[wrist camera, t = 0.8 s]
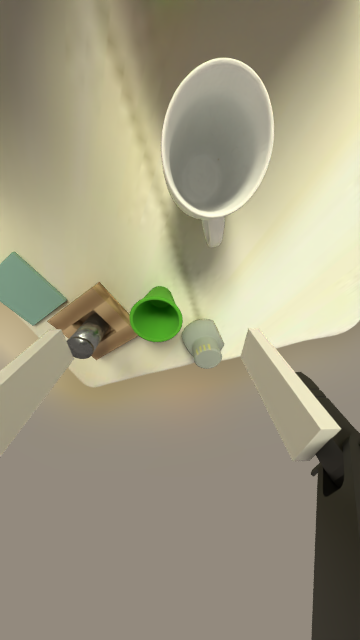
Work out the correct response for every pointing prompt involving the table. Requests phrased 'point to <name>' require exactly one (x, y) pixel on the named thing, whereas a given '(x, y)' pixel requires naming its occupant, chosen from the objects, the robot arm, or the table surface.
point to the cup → (156, 316)
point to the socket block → (106, 308)
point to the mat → (27, 290)
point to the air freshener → (203, 342)
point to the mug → (217, 142)
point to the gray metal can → (87, 336)
